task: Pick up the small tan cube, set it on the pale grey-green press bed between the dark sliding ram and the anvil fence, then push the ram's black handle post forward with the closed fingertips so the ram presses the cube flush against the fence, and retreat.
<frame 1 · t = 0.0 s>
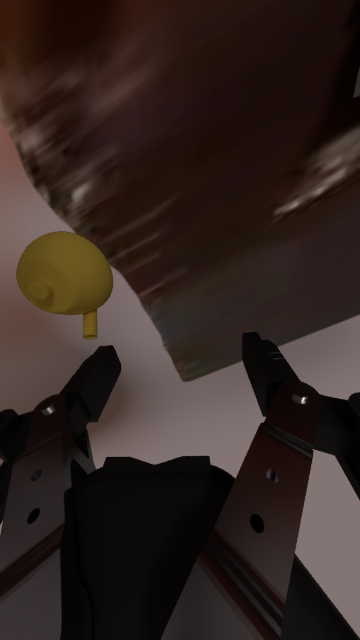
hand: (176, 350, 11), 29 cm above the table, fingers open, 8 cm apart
teapot: (90, 279, 40), on the table
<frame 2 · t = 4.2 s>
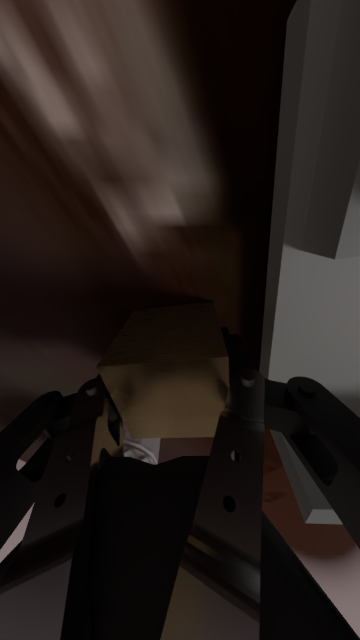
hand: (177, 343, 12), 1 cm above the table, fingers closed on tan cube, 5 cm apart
white cup: (128, 431, 18), on the table
tan cube: (178, 339, 12), on the table, touching gripper
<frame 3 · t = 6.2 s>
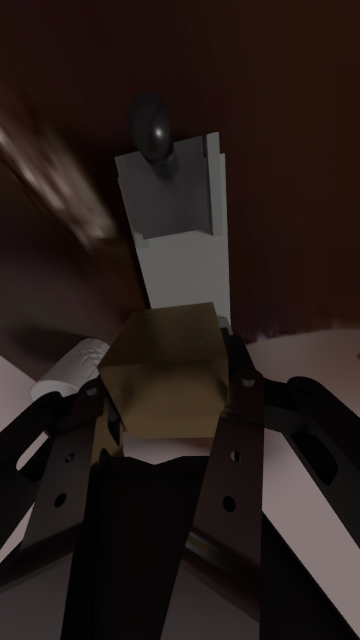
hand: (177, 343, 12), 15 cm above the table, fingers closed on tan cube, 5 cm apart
white cup: (97, 352, 32), on the table
press: (184, 264, 24), on the table
tan cube: (178, 339, 12), point 14 cm above the table, touching gripper
ram: (168, 193, 14), point 7 cm above the table, slide at 0.0 cm
when the fingers open (3 cm above the table, at t = 8.6 s): tan cube drops 1 cm, resting on press.
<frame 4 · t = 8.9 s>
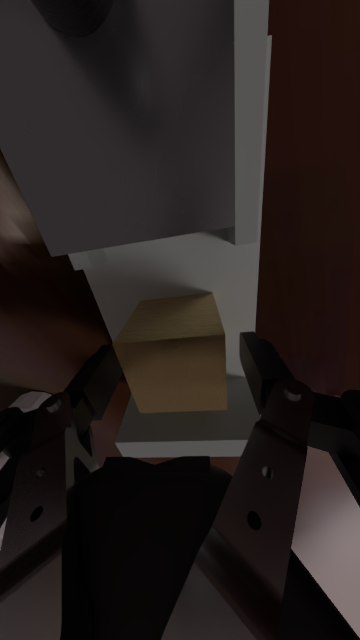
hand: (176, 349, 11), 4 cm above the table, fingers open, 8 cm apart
white cup: (49, 407, 22), on the table
press: (175, 290, 13), on the table
tan cube: (180, 327, 13), point 1 cm above the table, touching press
ram: (93, 91, 4), point 7 cm above the table, slide at 0.0 cm
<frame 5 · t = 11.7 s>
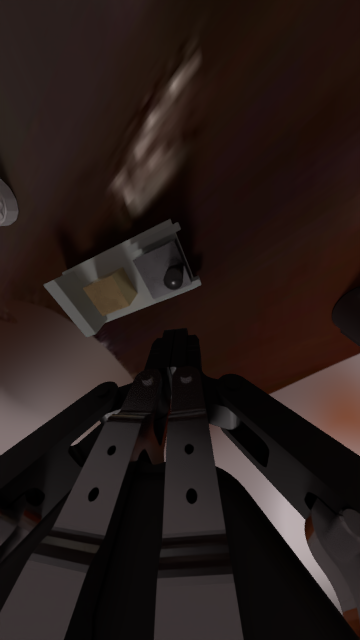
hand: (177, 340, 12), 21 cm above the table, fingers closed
press: (132, 277, 31), on the table
tan cube: (118, 286, 31), point 1 cm above the table, touching press
ram: (162, 273, 23), point 7 cm above the table, slide at 0.0 cm
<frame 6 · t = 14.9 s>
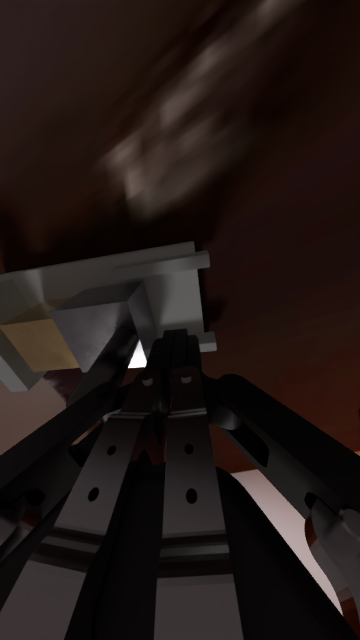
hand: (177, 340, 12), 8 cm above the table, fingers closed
press: (112, 308, 20), on the table
tan cube: (76, 319, 19), point 2 cm above the table, touching ram
ram: (99, 345, 14), point 7 cm above the table, slide at 5.1 cm, touching hand, tan cube
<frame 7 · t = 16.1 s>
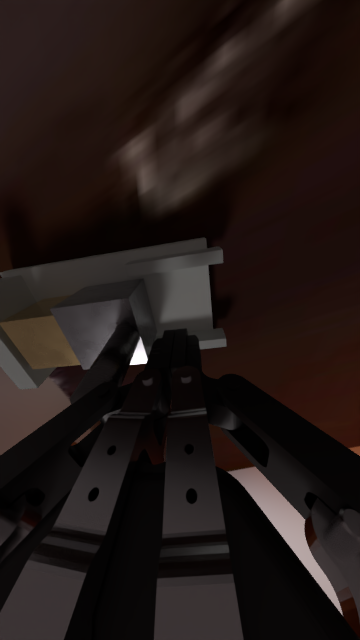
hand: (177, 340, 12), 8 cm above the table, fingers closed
press: (120, 304, 20), on the table
tan cube: (76, 317, 19), point 1 cm above the table, touching press, ram
ram: (100, 341, 14), point 7 cm above the table, slide at 6.1 cm, touching gripper, tan cube
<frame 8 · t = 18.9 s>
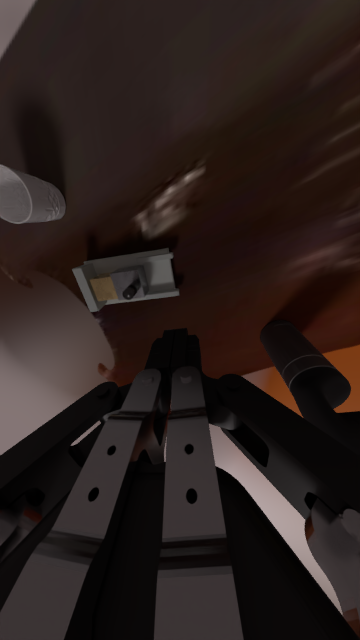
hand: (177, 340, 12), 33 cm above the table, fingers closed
white cup: (50, 201, 37), on the table
press: (133, 277, 44), on the table
tan cube: (113, 282, 43), point 1 cm above the table, touching press, ram
ram: (126, 286, 37), point 7 cm above the table, slide at 6.1 cm, touching tan cube
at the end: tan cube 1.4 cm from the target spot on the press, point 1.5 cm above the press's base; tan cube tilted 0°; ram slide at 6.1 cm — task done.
